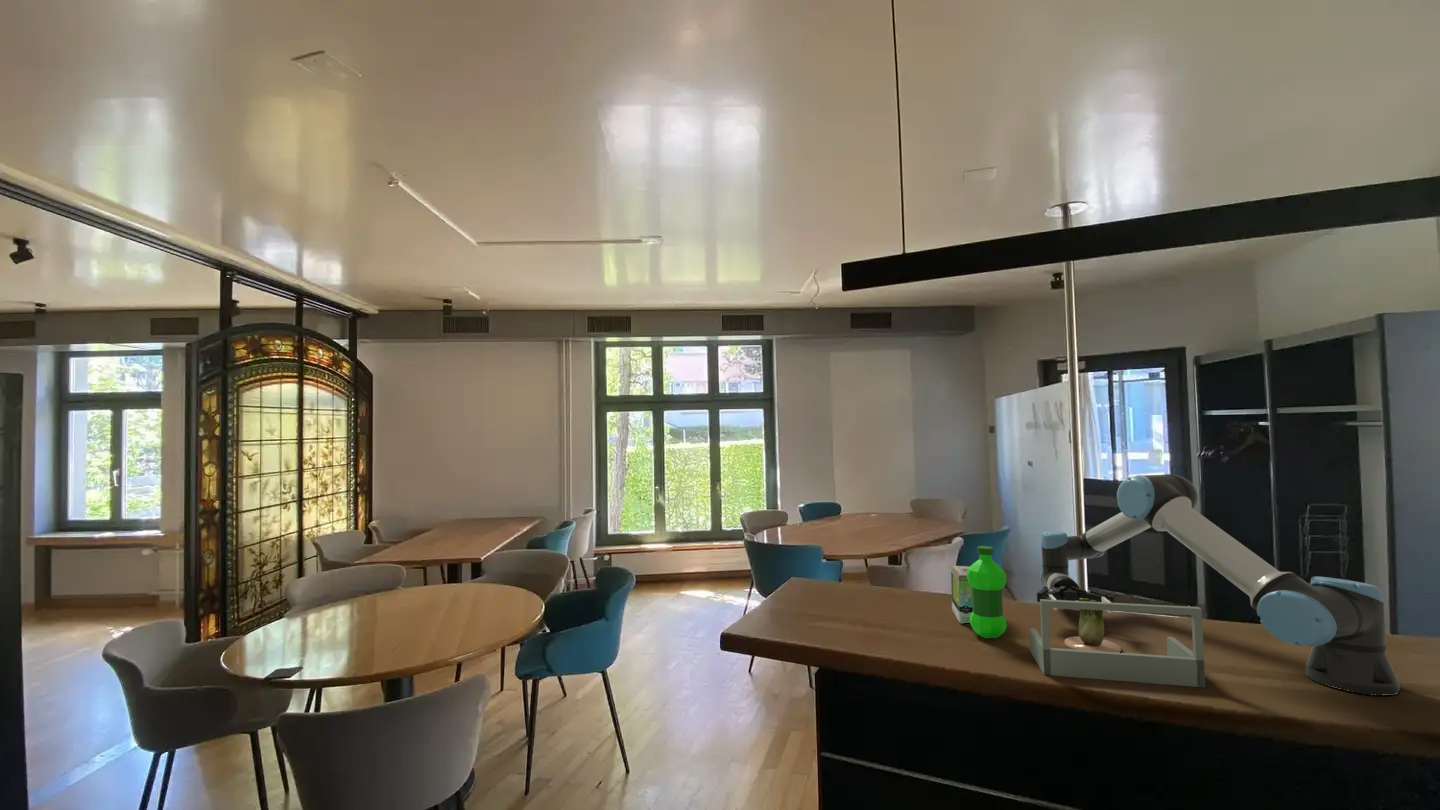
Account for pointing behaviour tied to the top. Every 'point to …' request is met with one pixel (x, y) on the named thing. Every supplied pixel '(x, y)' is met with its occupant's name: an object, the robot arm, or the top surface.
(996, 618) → the plastic bottle
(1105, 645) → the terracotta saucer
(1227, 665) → the top surface
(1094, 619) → the fennel bulb
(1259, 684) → the top surface
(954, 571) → the tea box
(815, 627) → the top surface
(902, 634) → the top surface
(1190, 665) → the frame
